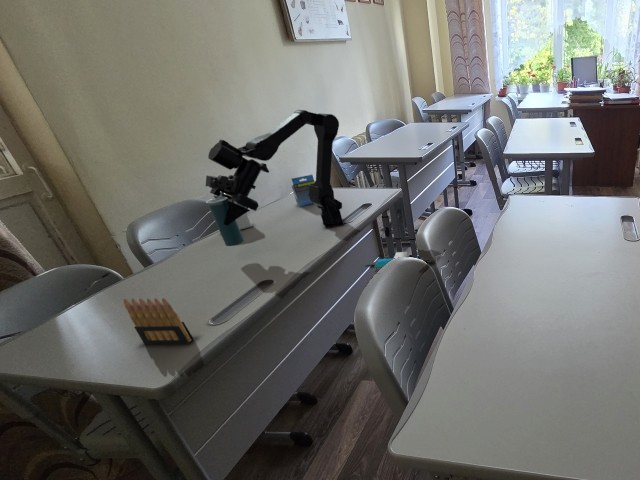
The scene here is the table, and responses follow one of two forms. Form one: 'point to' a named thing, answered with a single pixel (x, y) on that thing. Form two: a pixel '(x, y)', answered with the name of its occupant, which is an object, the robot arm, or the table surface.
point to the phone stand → (386, 261)
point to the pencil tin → (219, 211)
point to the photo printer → (243, 221)
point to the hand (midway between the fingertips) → (221, 223)
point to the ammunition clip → (157, 323)
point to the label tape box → (302, 189)
